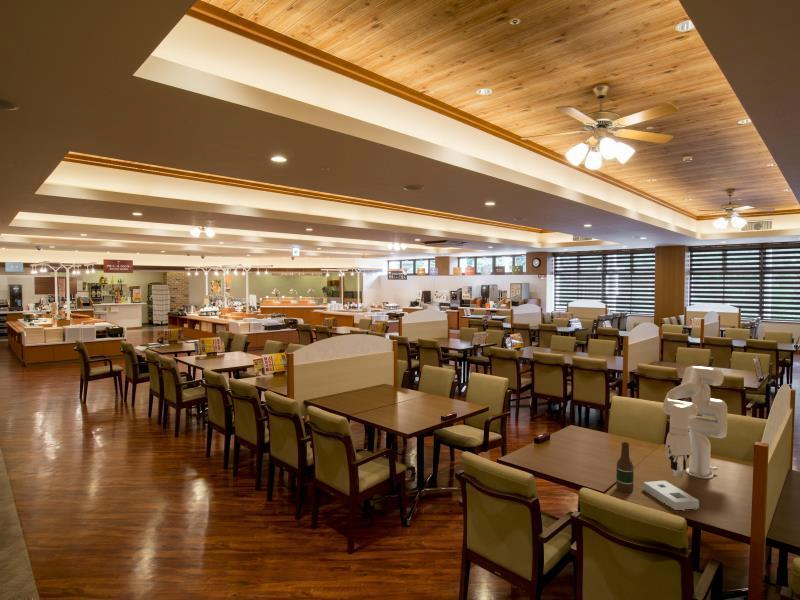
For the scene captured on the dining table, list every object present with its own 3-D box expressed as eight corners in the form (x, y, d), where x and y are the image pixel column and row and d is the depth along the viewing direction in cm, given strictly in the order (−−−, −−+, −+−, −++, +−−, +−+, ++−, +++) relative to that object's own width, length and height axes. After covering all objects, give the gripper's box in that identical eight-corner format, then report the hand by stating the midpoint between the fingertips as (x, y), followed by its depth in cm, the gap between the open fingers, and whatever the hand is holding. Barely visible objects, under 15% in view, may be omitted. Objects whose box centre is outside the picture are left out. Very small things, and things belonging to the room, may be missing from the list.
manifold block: (664, 488, 236) (664, 480, 236) (698, 508, 215) (699, 500, 214) (643, 489, 234) (643, 482, 234) (675, 511, 213) (675, 502, 213)
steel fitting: (678, 473, 221) (679, 453, 221) (685, 477, 217) (685, 456, 217) (671, 474, 221) (671, 453, 220) (677, 477, 217) (678, 456, 216)
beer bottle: (632, 494, 230) (633, 446, 229) (615, 490, 234) (615, 443, 233) (634, 488, 236) (634, 442, 235) (617, 484, 240) (617, 439, 239)
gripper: (688, 427, 223) (687, 465, 224) (657, 429, 221) (656, 467, 221) (701, 432, 216) (700, 471, 217) (668, 434, 213) (668, 473, 214)
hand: (678, 468), depth 219 cm, fingers closed on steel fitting, 4 cm apart
